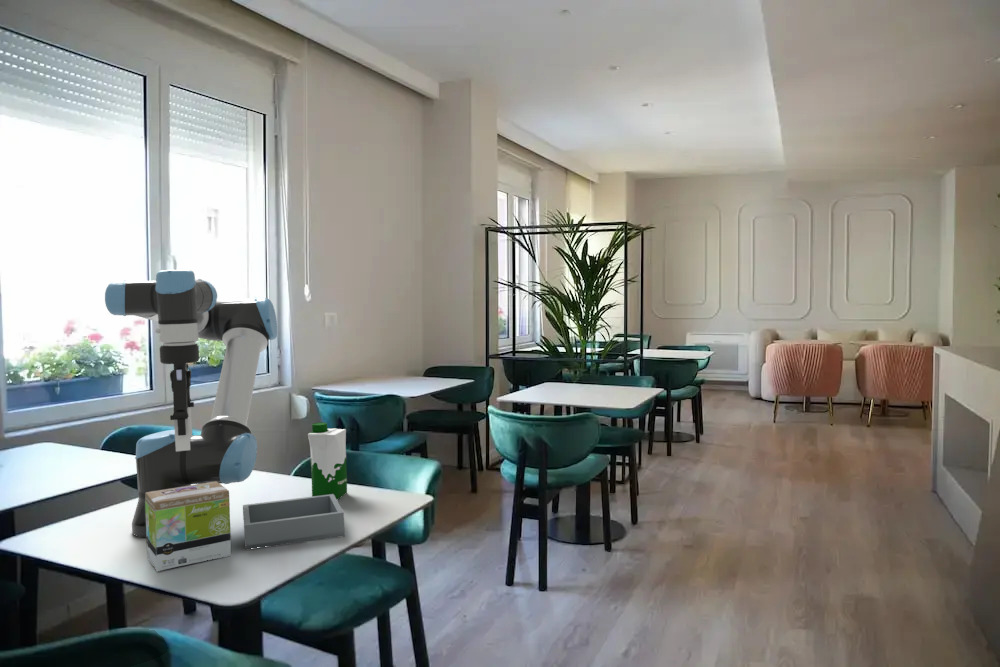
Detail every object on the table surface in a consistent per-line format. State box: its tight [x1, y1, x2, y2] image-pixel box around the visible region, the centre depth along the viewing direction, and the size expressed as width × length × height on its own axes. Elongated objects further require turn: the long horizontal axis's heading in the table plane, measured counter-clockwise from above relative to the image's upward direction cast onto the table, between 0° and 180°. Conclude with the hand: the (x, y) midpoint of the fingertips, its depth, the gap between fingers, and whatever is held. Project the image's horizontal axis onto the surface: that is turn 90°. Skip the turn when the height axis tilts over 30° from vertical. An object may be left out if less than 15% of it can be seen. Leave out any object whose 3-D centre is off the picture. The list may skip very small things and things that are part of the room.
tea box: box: [145, 481, 232, 573], centre depth 157 cm, size 15×10×15 cm, turn 126°
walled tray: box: [242, 494, 345, 550], centre depth 173 cm, size 16×21×6 cm
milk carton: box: [307, 421, 348, 500], centre depth 201 cm, size 9×9×20 cm
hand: (184, 444), depth 156 cm, fingers open, 13 cm apart
